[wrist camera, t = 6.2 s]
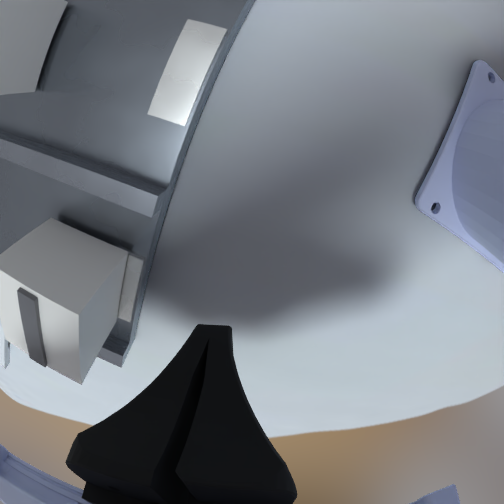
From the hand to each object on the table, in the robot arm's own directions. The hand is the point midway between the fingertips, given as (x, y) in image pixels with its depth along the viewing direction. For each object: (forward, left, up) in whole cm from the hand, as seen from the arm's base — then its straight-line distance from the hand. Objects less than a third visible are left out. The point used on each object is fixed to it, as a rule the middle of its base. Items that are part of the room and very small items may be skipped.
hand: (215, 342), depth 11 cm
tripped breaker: (+6, 0, -1) cm, 7 cm away
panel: (+10, -9, -2) cm, 13 cm away
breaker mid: (+13, -9, -1) cm, 16 cm away
